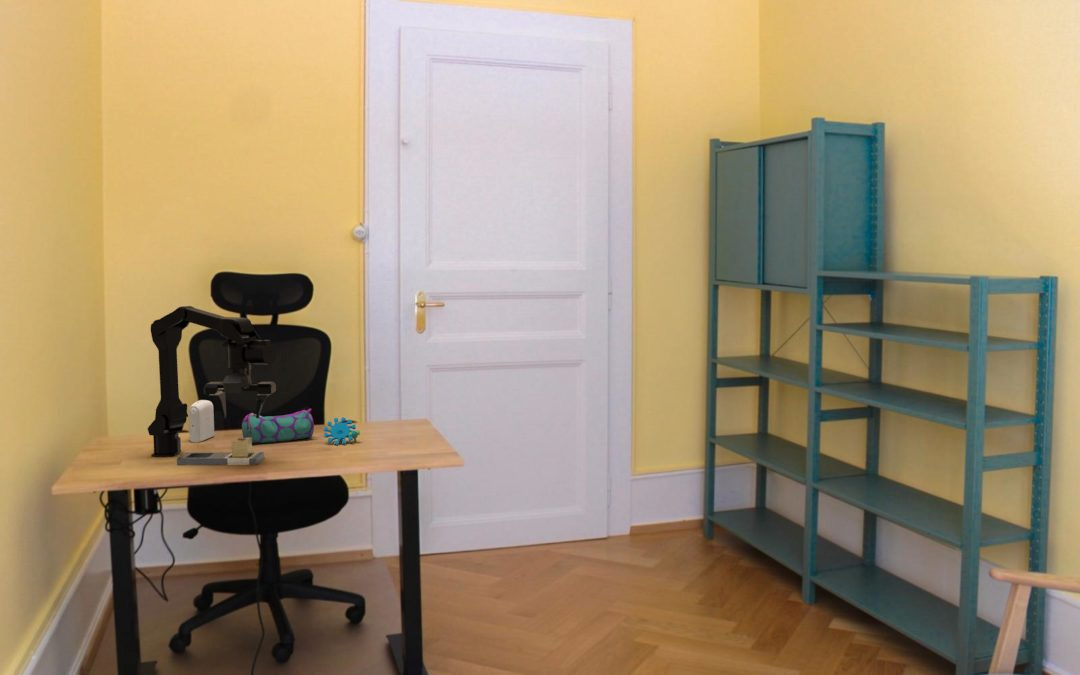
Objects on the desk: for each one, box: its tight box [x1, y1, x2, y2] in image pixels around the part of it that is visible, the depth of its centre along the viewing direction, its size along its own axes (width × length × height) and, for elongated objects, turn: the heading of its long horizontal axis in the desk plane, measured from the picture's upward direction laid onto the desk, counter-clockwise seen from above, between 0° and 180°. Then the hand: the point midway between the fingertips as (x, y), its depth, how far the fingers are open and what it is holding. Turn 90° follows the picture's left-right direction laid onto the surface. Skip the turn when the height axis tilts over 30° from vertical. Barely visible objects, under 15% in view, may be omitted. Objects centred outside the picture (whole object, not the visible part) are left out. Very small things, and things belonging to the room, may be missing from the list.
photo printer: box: [188, 399, 215, 443], centre depth 301 cm, size 10×4×12 cm, turn 172°
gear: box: [323, 416, 361, 446], centre depth 298 cm, size 11×6×10 cm
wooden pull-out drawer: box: [231, 437, 253, 458], centre depth 270 cm, size 4×4×7 cm
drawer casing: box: [176, 451, 265, 466], centre depth 270 cm, size 22×8×2 cm, turn 91°
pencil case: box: [241, 408, 315, 445], centre depth 299 cm, size 21×9×10 cm, turn 118°
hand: (241, 418), depth 269 cm, fingers open, 9 cm apart
